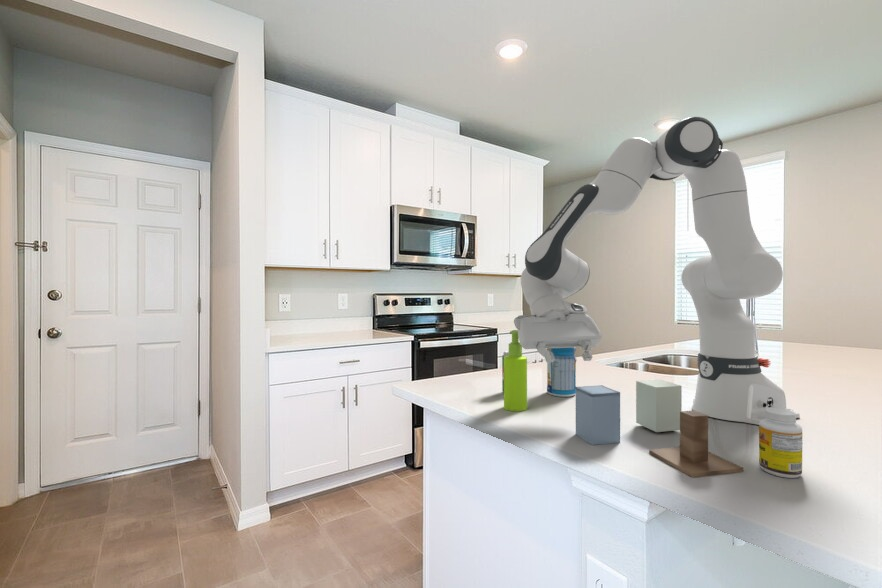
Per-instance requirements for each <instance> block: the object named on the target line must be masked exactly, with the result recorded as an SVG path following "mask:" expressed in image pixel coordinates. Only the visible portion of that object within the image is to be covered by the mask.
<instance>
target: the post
mask: <svg viewBox="0 0 882 588" xmlns="http://www.w3.org/2000/svg"><path fill="white" fill-rule="evenodd" d="M648 452H649V454H650V455H652V456H654V457H655V458H656V459H659V460H660V461H662V462H664V463H666V464H668V465H669V466H671V467H674V468H675V469H677V470H679V471H680V472H682V473H684V474H685V475H687V476H688V477H691V478H697V477H704V476H705V477H707V476H714V475H716V476H717V475H724V474H725V475H726V474H733V473H741V472H744V467H743V466H740V465H738V464H737V463H735V462H732V461H729V460H727V459H725V458H723V457H721V456H718V455H717V454H715V453H712V452H710V451H709V416H708V415H706V414H703V413H700V412H697V411H695V410H693V409H692V410H684V411H683V410H682V411H680V430H679V446H675V447H666V448H665V447H663V448H655V449H649V450H648Z"/></svg>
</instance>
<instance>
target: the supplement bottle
mask: <svg viewBox="0 0 882 588" xmlns="http://www.w3.org/2000/svg"><path fill="white" fill-rule="evenodd" d="M758 449H759V450H758V464H759V467H760V468H761V470H762V471H764V472H766V473H768V474H770V475H772V476H777V477H781V478H787V479H796V478H797V479H798V478H800V477H801V476H802V475H803V428H802V426H801V425H800V424H798V423H797V418H796V413H795V412H793V411H790V410H786V409H780V408H766V409H765V419H762V420H760V422H759V425H758Z"/></svg>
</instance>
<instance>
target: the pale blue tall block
mask: <svg viewBox="0 0 882 588" xmlns="http://www.w3.org/2000/svg"><path fill="white" fill-rule="evenodd" d="M575 435H576V436H578V437H579V438H581V439H582V440H583V441H585V442H586V443H588V444H590V445H592V446H596V445H607V444H617V443H621V392H620V391H618V390H616V389H615V390H614V389H613V388H610V387H607V386H604V385H599V384H598V385H586V386H576V394H575Z"/></svg>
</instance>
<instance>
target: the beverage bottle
mask: <svg viewBox="0 0 882 588" xmlns="http://www.w3.org/2000/svg"><path fill="white" fill-rule="evenodd" d="M546 349H547V350H548V351H549V352H553V354H554V355H553V356H554V357H555V360H554V362H548V363H547V362H546V363H547V364H546V368H547V369H546V371H547V376H546V377H547V378H546V379H547V382H546V384H547V385H546V393H547V394H549V396H553V397H558V398H559V397H560V398H568V397H573V396H576V387H577V385H576V384H577V382H576V375H577V374H576V373H577V371H576V370H577V369H576V366H577V365H576V364H577V355H576V353H575V352H576V350H577V347H572V348H546Z"/></svg>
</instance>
